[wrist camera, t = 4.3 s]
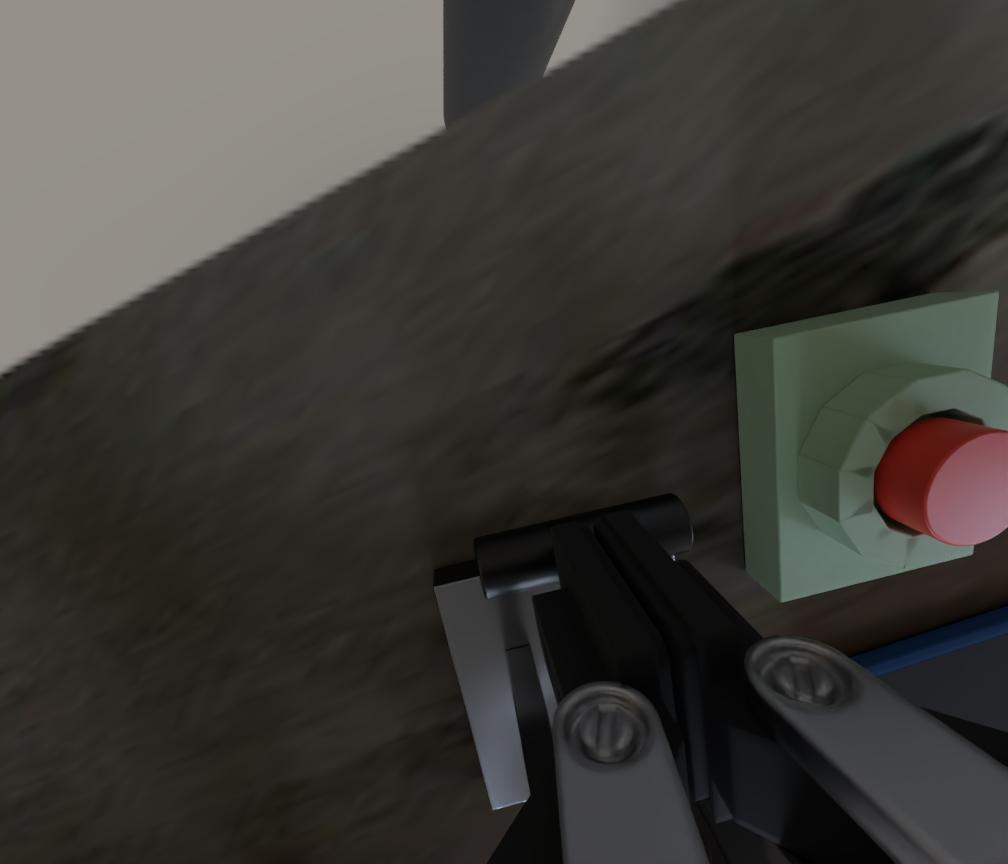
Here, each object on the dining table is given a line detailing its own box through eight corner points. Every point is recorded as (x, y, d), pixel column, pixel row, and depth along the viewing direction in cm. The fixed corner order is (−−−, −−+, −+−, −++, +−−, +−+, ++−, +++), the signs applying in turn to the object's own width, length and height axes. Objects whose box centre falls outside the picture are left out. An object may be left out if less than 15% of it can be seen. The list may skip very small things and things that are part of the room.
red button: (873, 429, 15) (928, 445, 13) (978, 406, 15) (1045, 418, 13) (870, 532, 16) (921, 559, 14) (968, 508, 16) (1030, 531, 14)
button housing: (732, 334, 17) (816, 341, 13) (934, 292, 18) (1070, 288, 14) (745, 572, 20) (817, 635, 16) (919, 529, 20) (1029, 581, 17)
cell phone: (1054, 705, 24) (1073, 718, 23) (801, 792, 23) (812, 807, 23) (1064, 585, 22) (1085, 595, 21) (787, 676, 21) (799, 689, 21)
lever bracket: (433, 568, 18) (411, 1124, 6) (657, 515, 19) (1069, 917, 6) (488, 781, 21) (551, 1445, 9) (680, 730, 22) (989, 1284, 9)
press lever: (474, 537, 12) (470, 539, 10) (655, 496, 13) (691, 487, 10) (593, 1108, 10) (623, 1284, 8) (812, 1038, 10) (905, 1185, 8)
